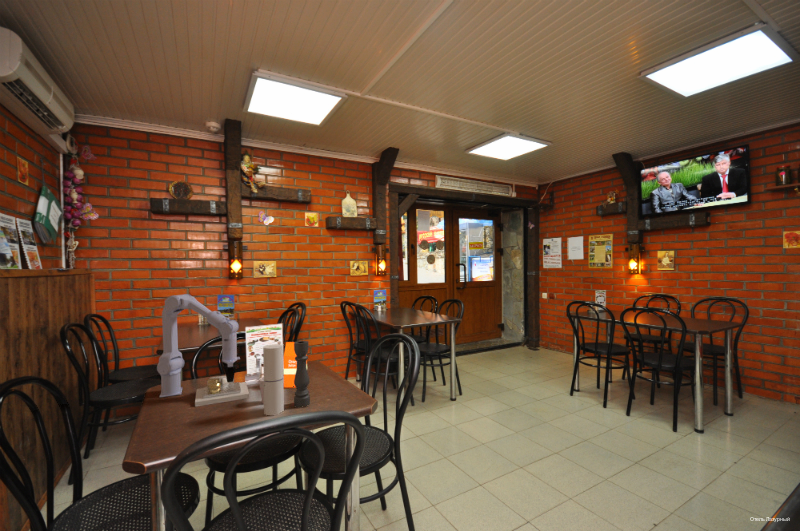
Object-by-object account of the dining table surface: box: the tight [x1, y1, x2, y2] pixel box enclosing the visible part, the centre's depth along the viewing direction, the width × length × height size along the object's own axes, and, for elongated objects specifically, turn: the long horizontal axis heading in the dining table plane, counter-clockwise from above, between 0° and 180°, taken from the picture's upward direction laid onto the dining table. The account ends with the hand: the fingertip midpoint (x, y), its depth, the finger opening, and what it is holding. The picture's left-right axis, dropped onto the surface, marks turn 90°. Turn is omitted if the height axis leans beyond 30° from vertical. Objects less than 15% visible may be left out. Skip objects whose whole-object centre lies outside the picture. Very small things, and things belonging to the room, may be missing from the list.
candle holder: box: [293, 340, 311, 408], centre depth 145 cm, size 6×6×25 cm
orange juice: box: [283, 341, 308, 388], centre depth 170 cm, size 8×9×20 cm
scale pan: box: [203, 381, 241, 398], centre depth 157 cm, size 12×14×1 cm
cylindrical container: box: [262, 343, 285, 416], centre depth 138 cm, size 7×7×25 cm
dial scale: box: [194, 375, 250, 408], centre depth 157 cm, size 18×20×6 cm
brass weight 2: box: [209, 381, 221, 394], centre depth 152 cm, size 4×4×4 cm
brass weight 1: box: [206, 378, 219, 391], centre depth 156 cm, size 4×4×4 cm
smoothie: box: [258, 376, 264, 405], centre depth 148 cm, size 6×6×14 cm
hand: (229, 379), depth 158 cm, fingers open, 7 cm apart
